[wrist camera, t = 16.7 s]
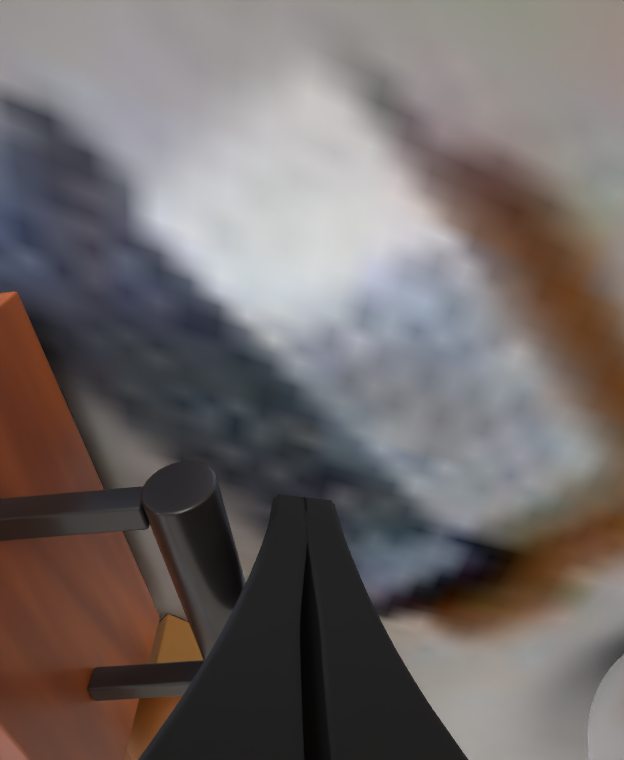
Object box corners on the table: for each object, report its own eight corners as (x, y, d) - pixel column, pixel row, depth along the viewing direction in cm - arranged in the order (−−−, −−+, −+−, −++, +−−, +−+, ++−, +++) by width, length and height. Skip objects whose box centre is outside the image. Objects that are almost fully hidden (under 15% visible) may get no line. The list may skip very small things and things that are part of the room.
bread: (89, 690, 23) (46, 818, 19) (168, 612, 20) (136, 745, 16) (172, 718, 24) (148, 842, 20) (257, 649, 21) (247, 779, 18)
